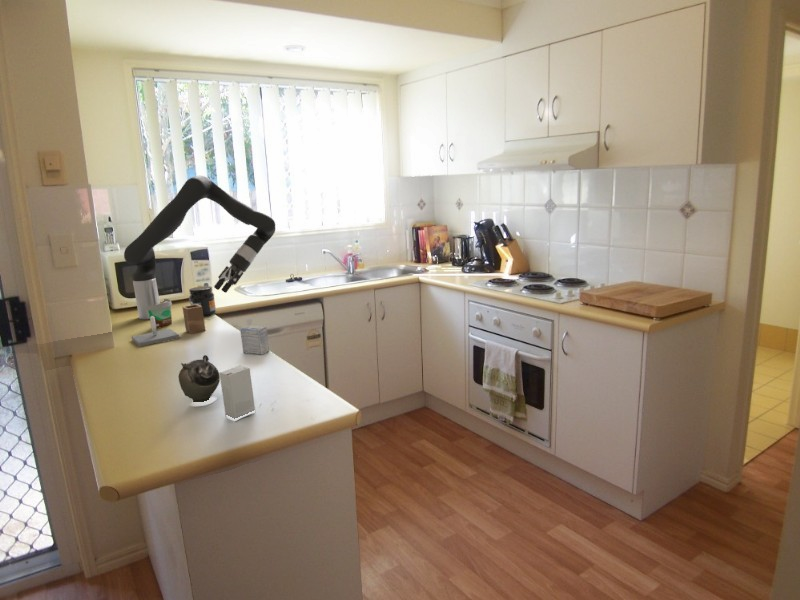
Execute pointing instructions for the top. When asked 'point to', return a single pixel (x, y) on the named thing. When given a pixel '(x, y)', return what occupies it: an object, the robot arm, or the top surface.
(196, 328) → the walnut sleeve
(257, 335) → the medicine box
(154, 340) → the post base
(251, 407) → the skincare box
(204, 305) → the supplement container
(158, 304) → the food container
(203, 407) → the top surface
